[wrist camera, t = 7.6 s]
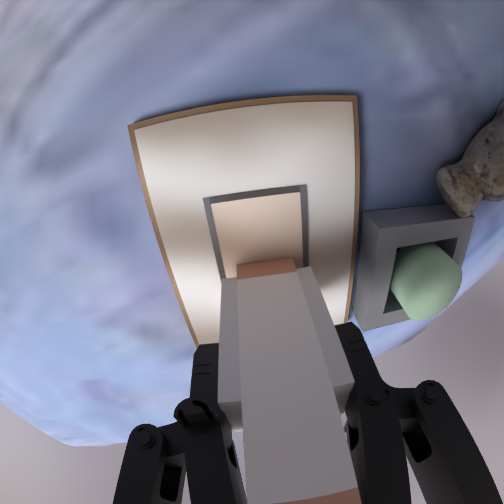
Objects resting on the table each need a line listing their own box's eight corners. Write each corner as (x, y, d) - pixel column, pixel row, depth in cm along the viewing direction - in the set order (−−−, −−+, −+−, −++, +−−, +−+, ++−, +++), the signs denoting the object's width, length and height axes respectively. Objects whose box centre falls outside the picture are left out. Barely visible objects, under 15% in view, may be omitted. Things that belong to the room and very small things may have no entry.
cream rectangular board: (132, 123, 10) (125, 125, 10) (351, 95, 10) (358, 95, 10) (197, 342, 18) (197, 351, 17) (343, 322, 17) (347, 330, 17)
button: (392, 242, 13) (416, 269, 11) (444, 234, 13) (469, 257, 11) (381, 298, 15) (399, 328, 13) (430, 286, 15) (449, 311, 13)
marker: (236, 265, 14) (250, 542, 3) (292, 257, 14) (365, 523, 3) (244, 306, 15) (261, 536, 5) (294, 298, 15) (345, 522, 5)
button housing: (362, 211, 13) (379, 228, 12) (454, 203, 13) (474, 216, 12) (352, 310, 17) (362, 331, 15) (433, 290, 17) (446, 307, 15)
